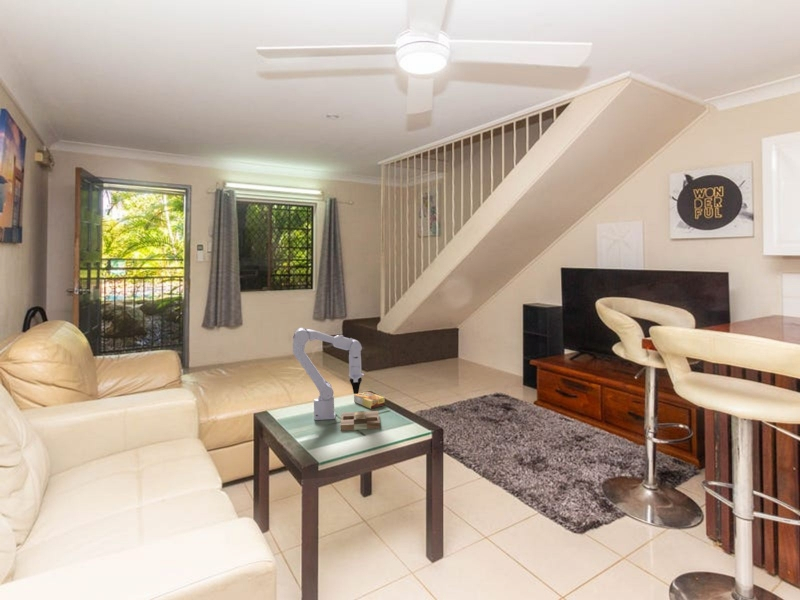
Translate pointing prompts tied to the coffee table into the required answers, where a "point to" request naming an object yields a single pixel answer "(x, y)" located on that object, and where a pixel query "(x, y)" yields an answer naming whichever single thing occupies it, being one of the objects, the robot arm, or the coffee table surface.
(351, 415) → the board
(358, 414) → the block
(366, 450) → the coffee table surface
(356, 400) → the candy box
